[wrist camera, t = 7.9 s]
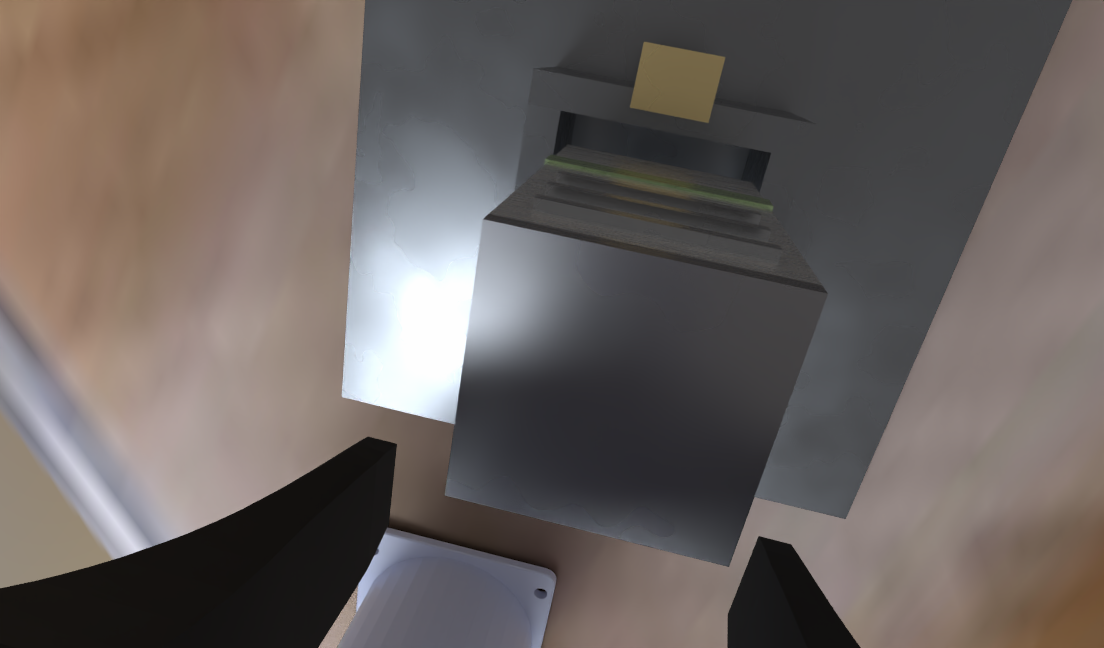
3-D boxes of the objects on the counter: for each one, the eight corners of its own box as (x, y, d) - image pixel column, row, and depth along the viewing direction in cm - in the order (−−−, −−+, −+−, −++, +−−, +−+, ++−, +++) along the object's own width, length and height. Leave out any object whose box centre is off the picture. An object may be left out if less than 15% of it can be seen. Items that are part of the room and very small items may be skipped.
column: (703, 352, 16) (731, 570, 9) (535, 314, 16) (440, 497, 9) (755, 175, 14) (837, 282, 7) (567, 136, 14) (480, 206, 8)
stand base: (838, 501, 24) (878, 605, 19) (353, 384, 25) (285, 456, 20) (1087, -83, 17) (1244, -135, 12) (392, -199, 18) (301, -285, 13)
